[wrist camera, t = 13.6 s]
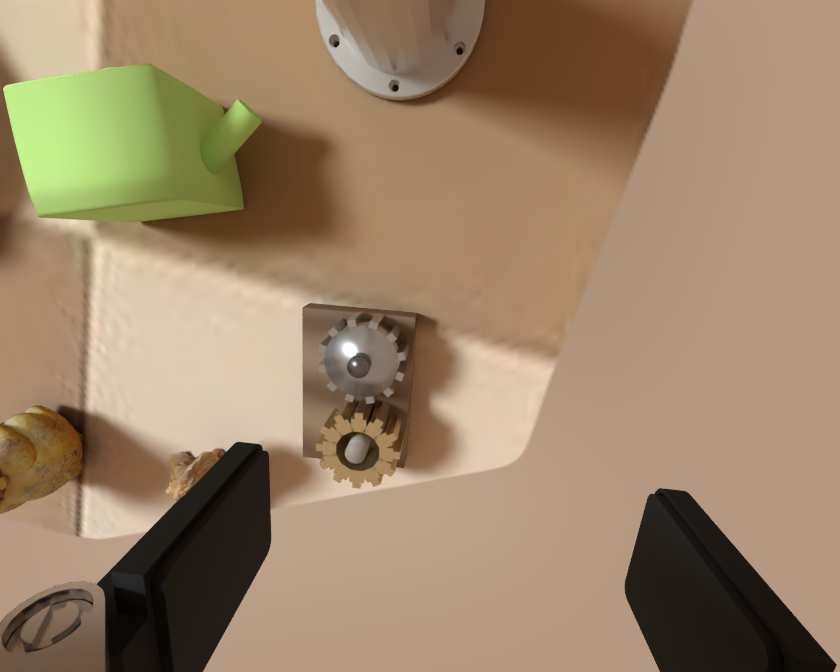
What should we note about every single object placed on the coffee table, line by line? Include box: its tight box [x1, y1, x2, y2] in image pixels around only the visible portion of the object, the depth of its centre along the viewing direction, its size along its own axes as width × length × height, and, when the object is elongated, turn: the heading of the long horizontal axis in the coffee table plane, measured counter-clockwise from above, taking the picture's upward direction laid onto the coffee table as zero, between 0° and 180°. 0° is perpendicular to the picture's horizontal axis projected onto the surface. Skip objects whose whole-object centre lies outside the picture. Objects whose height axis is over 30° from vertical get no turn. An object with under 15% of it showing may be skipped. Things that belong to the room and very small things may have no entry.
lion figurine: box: [165, 449, 224, 502], centre depth 40 cm, size 15×5×9 cm, turn 156°
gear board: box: [303, 303, 417, 468], centre depth 37 cm, size 15×10×6 cm, turn 176°
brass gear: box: [316, 397, 405, 488], centre depth 38 cm, size 7×7×4 cm
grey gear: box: [318, 311, 409, 404], centre depth 35 cm, size 7×7×4 cm
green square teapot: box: [3, 64, 263, 222], centre depth 31 cm, size 18×10×10 cm, turn 96°
